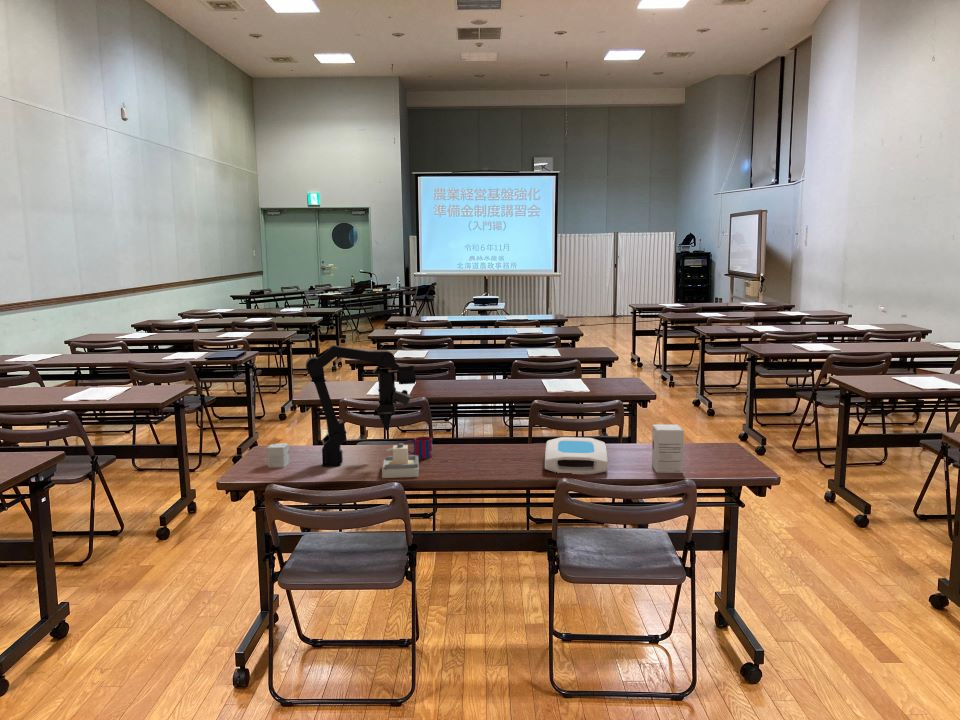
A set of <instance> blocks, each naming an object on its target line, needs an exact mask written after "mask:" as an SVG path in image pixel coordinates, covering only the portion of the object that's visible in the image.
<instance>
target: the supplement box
mask: <svg viewBox="0 0 960 720" xmlns="http://www.w3.org/2000/svg"><path fill="white" fill-rule="evenodd" d="M684 433H685V431H684V429H682V427H681V426H680V425H679V424H677V423H676V424H675V423H674V424H661V423H660V424H652V440H651V441H652V443H651V447H652V449H651V467H652V468H653V470H654V471H655V473H657V474H683V471H684V470H683V467H684V466H683V464H684V463H683V462H684V437H685V436H684V435H685V434H684Z"/></svg>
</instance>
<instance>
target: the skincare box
mask: <svg viewBox="0 0 960 720" xmlns="http://www.w3.org/2000/svg"><path fill="white" fill-rule="evenodd" d="M289 449H290V448H289V443H286V442H285V443H271V444H270V445H269V446H267V447H266V454H267V456H266V457H267V468H285V467H287V466H288V465H289V464H290V450H289ZM288 463H289V464H288Z"/></svg>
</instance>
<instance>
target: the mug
mask: <svg viewBox="0 0 960 720" xmlns="http://www.w3.org/2000/svg"><path fill="white" fill-rule="evenodd" d="M408 443H412V444H413V451H409V450H408V454H409V455H416V456H418V460H419V459H420V460H425V459H426V460H427V459H430V458H432V457H433V438H432V437H430V436H417V437H415V438H413V440H411V439H409V440H407V441H405V443H404V445H408Z"/></svg>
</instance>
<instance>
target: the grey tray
mask: <svg viewBox="0 0 960 720" xmlns="http://www.w3.org/2000/svg"><path fill="white" fill-rule="evenodd" d="M419 461H420V460H419V459H418V456H416V455H414V454H408V464H393V455H386V457H384V460H383V462H382V468H381V478H382V479H390V478H392V479H395V478H418V477H419V469H420V468H419V465H420V464H419Z"/></svg>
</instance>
